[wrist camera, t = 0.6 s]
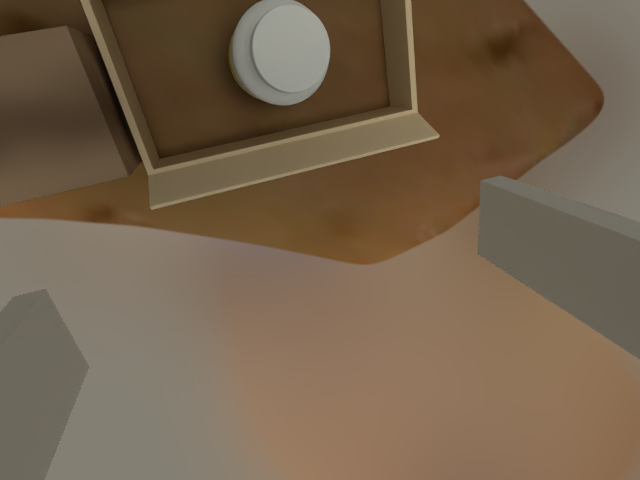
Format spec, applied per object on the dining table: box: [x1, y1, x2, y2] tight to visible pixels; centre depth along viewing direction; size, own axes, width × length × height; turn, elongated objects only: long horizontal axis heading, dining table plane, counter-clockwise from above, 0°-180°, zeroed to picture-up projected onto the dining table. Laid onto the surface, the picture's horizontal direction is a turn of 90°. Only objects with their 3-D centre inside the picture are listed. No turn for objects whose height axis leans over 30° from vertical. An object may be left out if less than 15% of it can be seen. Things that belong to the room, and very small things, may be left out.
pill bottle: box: [228, 0, 330, 105], centre depth 27 cm, size 6×6×12 cm
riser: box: [0, 26, 142, 207], centre depth 26 cm, size 9×9×8 cm
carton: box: [80, 0, 439, 210], centre depth 28 cm, size 16×23×8 cm
